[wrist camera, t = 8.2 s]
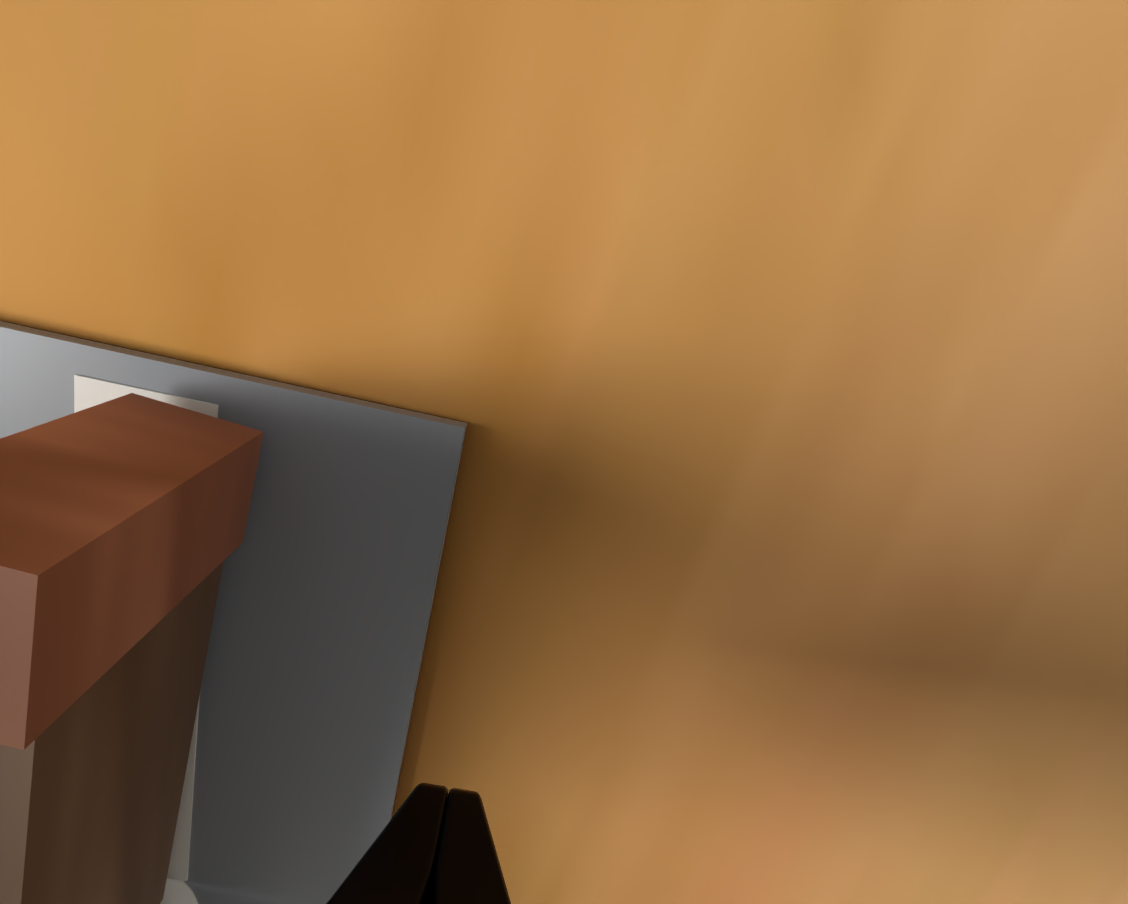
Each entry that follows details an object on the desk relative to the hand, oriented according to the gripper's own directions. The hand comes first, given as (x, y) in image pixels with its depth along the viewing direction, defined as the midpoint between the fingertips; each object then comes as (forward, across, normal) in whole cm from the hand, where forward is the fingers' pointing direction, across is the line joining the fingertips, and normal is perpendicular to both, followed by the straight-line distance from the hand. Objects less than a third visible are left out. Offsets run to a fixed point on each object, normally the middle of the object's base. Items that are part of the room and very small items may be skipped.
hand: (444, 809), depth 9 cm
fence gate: (+3, +5, +1) cm, 6 cm away
